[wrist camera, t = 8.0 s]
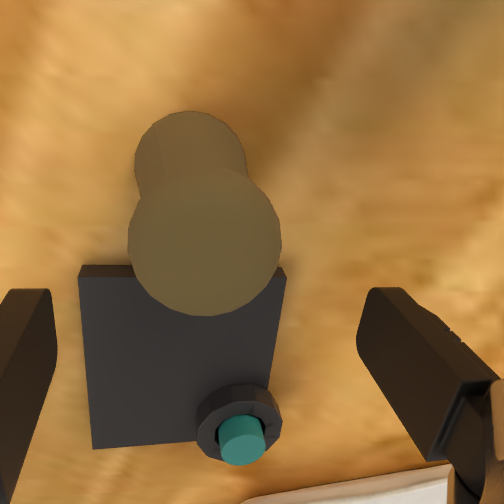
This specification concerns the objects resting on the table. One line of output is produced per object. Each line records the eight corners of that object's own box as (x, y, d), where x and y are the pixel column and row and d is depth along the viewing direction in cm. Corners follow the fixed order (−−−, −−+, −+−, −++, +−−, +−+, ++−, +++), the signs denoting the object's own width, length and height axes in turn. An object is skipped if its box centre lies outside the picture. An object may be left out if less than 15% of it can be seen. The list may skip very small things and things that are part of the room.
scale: (82, 264, 23) (71, 292, 21) (295, 266, 26) (310, 291, 24) (95, 437, 30) (89, 475, 27) (266, 424, 32) (275, 457, 30)
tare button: (219, 415, 27) (223, 437, 26) (263, 411, 28) (268, 433, 26) (216, 445, 29) (219, 468, 27) (257, 441, 29) (262, 463, 28)
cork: (259, 199, 24) (323, 307, 14) (161, 234, 23) (157, 368, 14) (226, 94, 21) (278, 139, 11) (114, 134, 20) (67, 214, 11)
